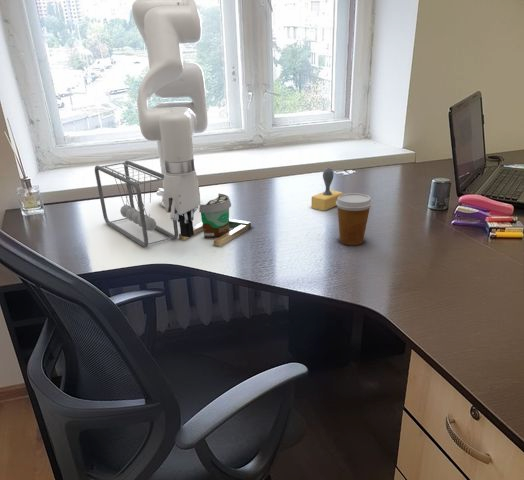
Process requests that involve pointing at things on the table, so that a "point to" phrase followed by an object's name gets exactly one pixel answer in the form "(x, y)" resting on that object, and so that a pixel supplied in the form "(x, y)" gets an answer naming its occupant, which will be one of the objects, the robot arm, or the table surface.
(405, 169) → the table surface
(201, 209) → the food container
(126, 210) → the newton's cradle
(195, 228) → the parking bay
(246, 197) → the table surface
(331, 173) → the rubber stamp
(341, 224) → the disposable coffee cup
